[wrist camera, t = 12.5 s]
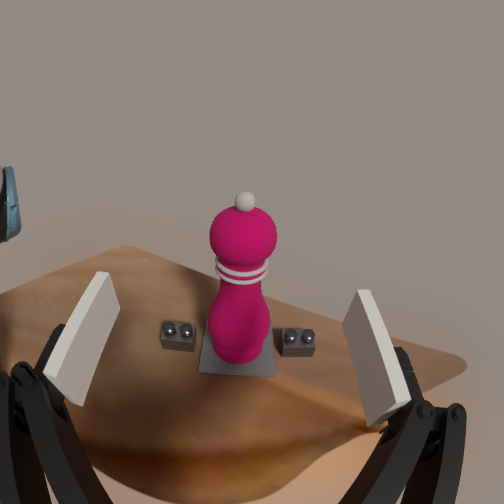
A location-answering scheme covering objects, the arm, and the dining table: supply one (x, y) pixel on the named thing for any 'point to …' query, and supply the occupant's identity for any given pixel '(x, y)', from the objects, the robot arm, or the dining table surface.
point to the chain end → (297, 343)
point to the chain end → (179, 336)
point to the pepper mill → (241, 280)
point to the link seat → (254, 368)
